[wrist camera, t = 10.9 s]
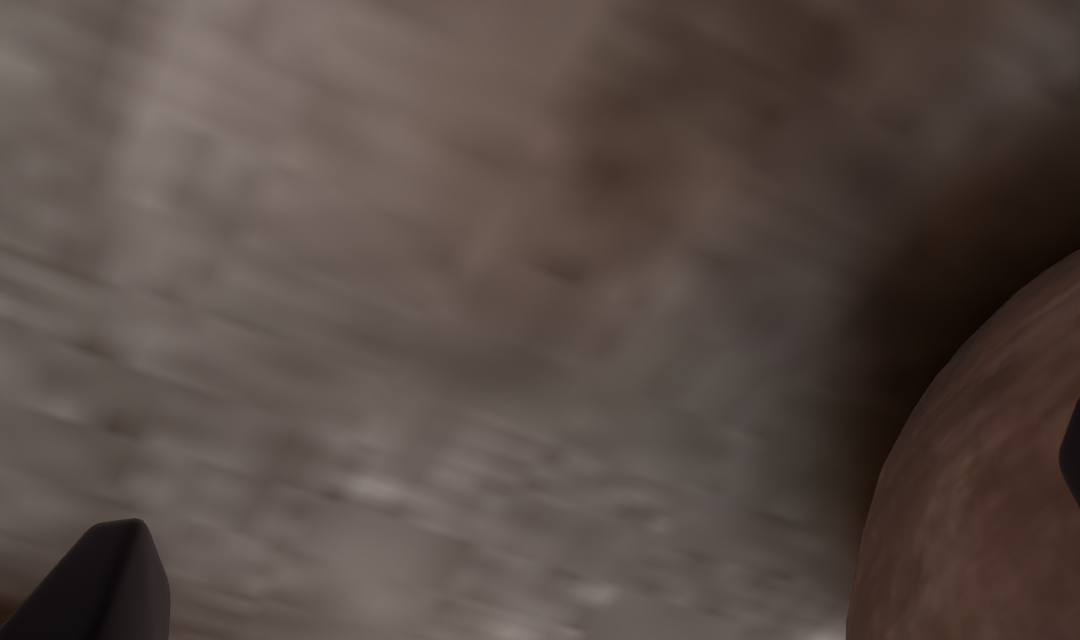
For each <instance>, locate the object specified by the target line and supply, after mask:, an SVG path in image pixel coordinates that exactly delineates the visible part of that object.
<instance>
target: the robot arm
mask: <svg viewBox="0 0 1080 640" xmlns="http://www.w3.org/2000/svg"><path fill="white" fill-rule="evenodd" d="M1058 459H1059V466H1060V470H1061V473H1062V475H1063V478H1064V480H1065V482H1066V484H1067V486H1068V487H1069V489H1070V491H1071V493H1072V495H1073V497H1074V499H1075V501H1076V503H1077V505H1078V507H1079V509H1080V397H1079V398H1078V400H1077V402H1076V405H1075V407H1074V410H1073V413H1072V415H1071V418H1070V421H1069V424H1068V426H1067V429H1066V432H1065V435H1064V437H1063V440H1062V443H1061V446H1060V449H1059V457H1058ZM169 618H170V590H169V583H168V579H167V576H166V573H165V571H164V568H163V565H162V563H161V560H160V557H159V555H158V552H157V550H156V547H155V544H154V542H153V539H152V536H151V534H150V531H149V529H148V527H147V525H146V524H145V523H144V522H143V521H142V520H140V519H136V518H132V519H125V520H118V521H110V522H103V523H98V524H96V525H94V526H92V527H91V528H90V529H88V530H87V531H86V532H85V534H84V535H83V536H82V537H81V538H80V539H79V540H78V541H77V542H76V544H75V545H74V546H73V547H72V548H71V549H70V550H69V551H68V552H67V554H66V555H65V556H64V557H63V558H62V559H61V560H60V561H59V563H58V564H57V565H56V566H55V567H54V568H53V569H52V570H51V571H50V573H49V574H48V575H47V576H46V577H45V578H44V579H43V580H42V581H41V583H40V584H39V585H38V586H37V587H36V588H35V589H34V590H33V591H32V593H31V594H30V595H29V596H28V597H27V598H26V599H25V600H24V601H23V603H22V604H21V605H20V606H19V607H18V608H17V609H16V610H15V611H14V613H13V614H12V615H11V616H10V617H9V618H8V619H7V620H6V622H5V623H4V624H3V625H2V626H1V627H0V640H168V634H169Z"/></svg>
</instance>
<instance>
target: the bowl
mask: <svg viewBox="0 0 1080 640" xmlns="http://www.w3.org/2000/svg"><path fill="white" fill-rule="evenodd" d="M1079 397H1080V249H1078V250H1077V251H1075V252H1074V253H1072V254H1070V255H1069V256H1067V257H1066V258H1064V259H1063V260H1061V261H1059V262H1058V263H1056V264H1055V265H1053V266H1051V267H1050V268H1048V269H1047V270H1045V271H1044V272H1042V273H1041V274H1039V275H1038V276H1037V277H1036V278H1034V279H1033V280H1032V281H1030V282H1029V283H1028V284H1027V285H1025V286H1024V287H1023V288H1021V289H1020V290H1019V291H1018V292H1017V293H1016V294H1014V295H1013V296H1012V297H1011V298H1010V299H1009V300H1008V301H1007V302H1006V303H1005V304H1004V305H1002V306H1001V307H1000V308H999V309H998V310H997V311H996V312H995V313H994V314H993V315H992V316H991V317H990V318H989V319H988V320H987V321H986V322H985V323H984V324H983V325H982V326H981V327H980V328H979V329H978V330H977V331H976V332H975V333H974V334H973V335H972V336H971V337H970V338H969V339H968V340H967V341H966V342H965V343H964V344H963V345H962V346H961V347H960V348H959V350H958V351H957V352H956V353H955V355H954V356H953V357H952V358H951V360H950V361H949V362H948V363H947V364H946V366H945V367H944V368H943V369H942V370H941V371H940V372H939V373H938V374H937V375H936V377H935V378H934V380H933V381H932V383H931V384H930V386H929V387H928V389H927V390H926V392H925V393H924V395H923V396H922V397H921V399H920V400H919V402H918V403H917V405H916V406H915V408H914V410H913V411H912V413H911V415H910V417H909V418H908V420H907V422H906V424H905V425H904V427H903V429H902V431H901V433H900V435H899V437H898V439H897V440H896V442H895V444H894V446H893V448H892V450H891V452H890V453H889V455H888V457H887V459H886V461H885V463H884V465H883V466H882V469H881V472H880V476H879V479H878V482H877V486H876V489H875V492H874V496H873V499H872V503H871V506H870V509H869V513H868V516H867V520H866V523H865V526H864V530H863V534H862V539H861V545H860V550H859V556H858V561H857V566H856V572H855V577H854V583H853V588H852V593H851V599H850V604H849V610H848V615H847V621H846V640H1080V509H1079V507H1078V505H1077V503H1076V501H1075V499H1074V497H1073V495H1072V493H1071V491H1070V489H1069V487H1068V486H1067V484H1066V482H1065V480H1064V478H1063V475H1062V473H1061V470H1060V466H1059V459H1058V457H1059V449H1060V446H1061V443H1062V440H1063V437H1064V435H1065V432H1066V429H1067V426H1068V424H1069V421H1070V418H1071V415H1072V413H1073V410H1074V407H1075V405H1076V402H1077V400H1078V398H1079Z"/></svg>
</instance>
